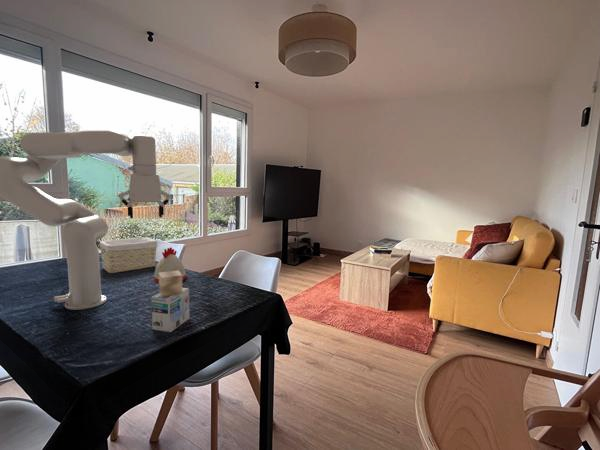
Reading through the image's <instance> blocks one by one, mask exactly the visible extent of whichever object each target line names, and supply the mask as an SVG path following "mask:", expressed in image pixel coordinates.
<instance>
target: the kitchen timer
mask: <svg viewBox="0 0 600 450" xmlns="http://www.w3.org/2000/svg"><path fill="white" fill-rule="evenodd" d="M163 250H164V252H161V254H162V256H163V257H162V258H160V260H159V261H158V262H157V263H155V270H154V274H153V279H154V282H156V283H159V273H160V272H169V271H179V272H180V273H181V274H182V281H184V280H185V279H186V278H187V273H186V269H185V265H184V263H183V262H182V260H181V259H180V257H178V256H177V250H175V249H174V248H172V247H167V248H164V249H163Z"/></svg>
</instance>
